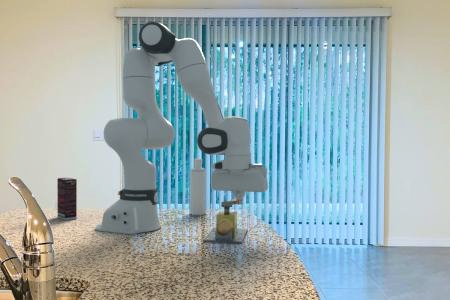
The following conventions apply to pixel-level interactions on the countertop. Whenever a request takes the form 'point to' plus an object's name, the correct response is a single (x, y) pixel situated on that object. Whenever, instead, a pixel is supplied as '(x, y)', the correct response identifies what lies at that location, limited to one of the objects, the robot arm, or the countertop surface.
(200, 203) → the grey bottle
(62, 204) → the supplement box
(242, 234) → the valve
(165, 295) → the countertop surface
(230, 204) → the lever
